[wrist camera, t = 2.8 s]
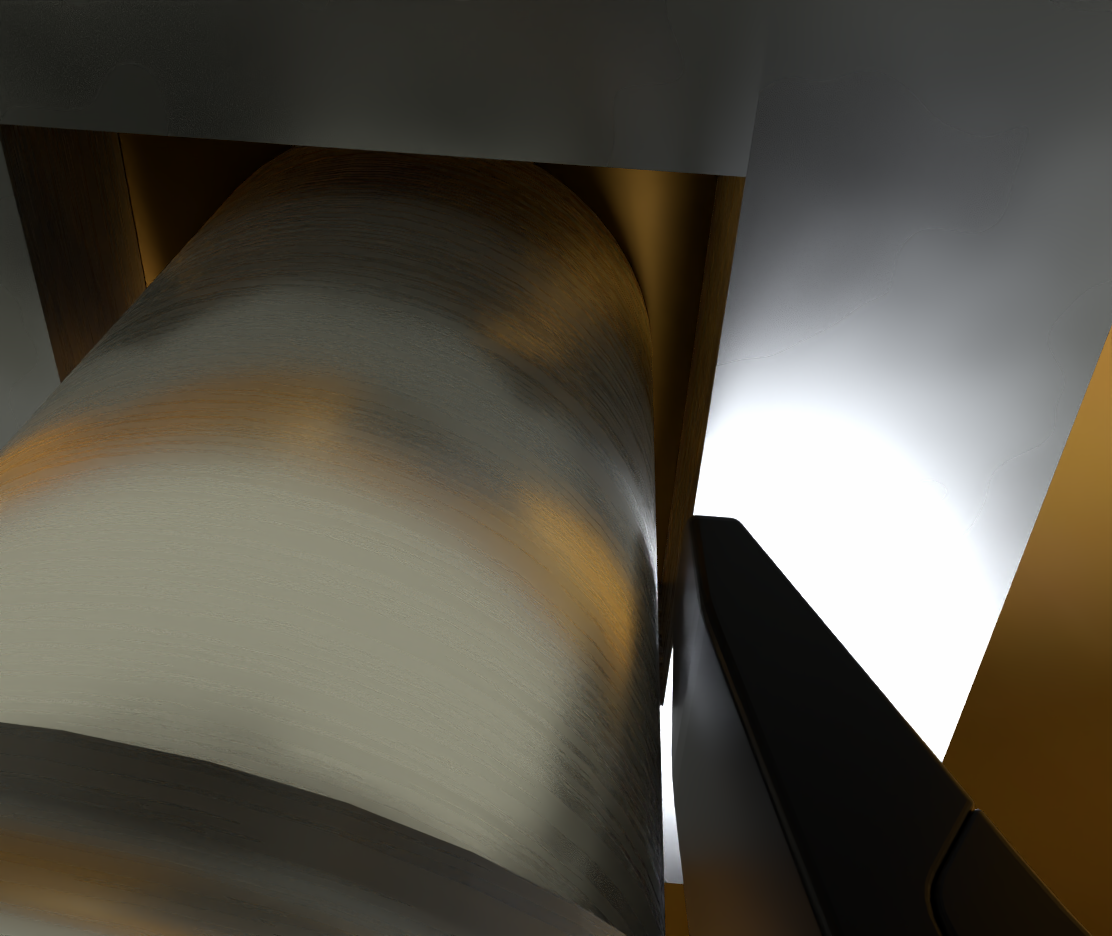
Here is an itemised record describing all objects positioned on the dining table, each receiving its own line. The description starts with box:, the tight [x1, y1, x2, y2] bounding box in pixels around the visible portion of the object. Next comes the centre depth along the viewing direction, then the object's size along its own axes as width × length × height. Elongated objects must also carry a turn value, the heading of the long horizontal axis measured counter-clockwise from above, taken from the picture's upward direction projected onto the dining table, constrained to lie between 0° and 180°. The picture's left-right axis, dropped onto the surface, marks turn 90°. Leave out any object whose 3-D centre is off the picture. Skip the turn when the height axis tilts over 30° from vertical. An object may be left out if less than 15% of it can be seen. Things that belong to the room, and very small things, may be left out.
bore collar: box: [0, 0, 1112, 884], centre depth 11 cm, size 12×12×2 cm
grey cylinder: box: [0, 145, 665, 936], centre depth 8 cm, size 6×6×9 cm
